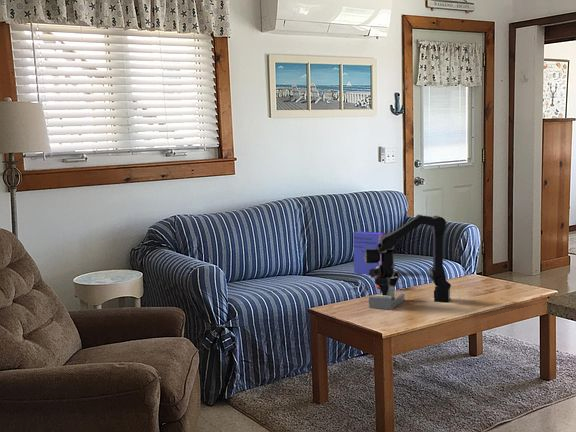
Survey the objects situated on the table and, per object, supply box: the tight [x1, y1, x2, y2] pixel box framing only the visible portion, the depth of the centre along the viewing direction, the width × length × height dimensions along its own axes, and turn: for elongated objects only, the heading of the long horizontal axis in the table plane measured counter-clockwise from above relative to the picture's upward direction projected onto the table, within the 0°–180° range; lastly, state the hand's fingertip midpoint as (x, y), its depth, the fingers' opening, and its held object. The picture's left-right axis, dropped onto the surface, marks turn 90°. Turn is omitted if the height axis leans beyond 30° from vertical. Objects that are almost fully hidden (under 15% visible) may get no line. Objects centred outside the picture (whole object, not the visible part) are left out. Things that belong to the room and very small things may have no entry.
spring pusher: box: [374, 294, 391, 298], centre depth 298 cm, size 7×1×4 cm, turn 62°
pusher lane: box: [368, 293, 406, 311], centre depth 302 cm, size 10×19×5 cm, turn 152°
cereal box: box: [352, 230, 386, 276], centre depth 366 cm, size 17×5×24 cm, turn 58°
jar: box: [387, 285, 396, 300], centre depth 304 cm, size 6×6×7 cm
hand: (388, 295), depth 304 cm, fingers open, 9 cm apart
